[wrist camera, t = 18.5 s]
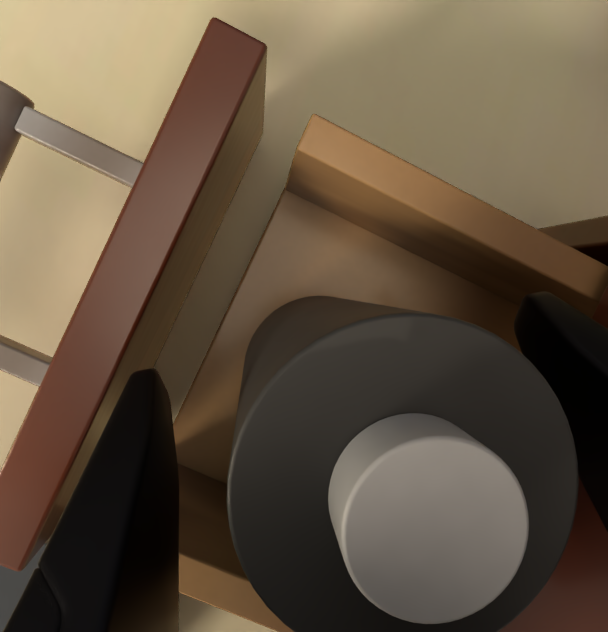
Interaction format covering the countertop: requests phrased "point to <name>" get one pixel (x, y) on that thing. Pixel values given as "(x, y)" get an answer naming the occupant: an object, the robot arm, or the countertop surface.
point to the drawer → (243, 289)
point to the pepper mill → (395, 471)
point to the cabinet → (588, 530)
